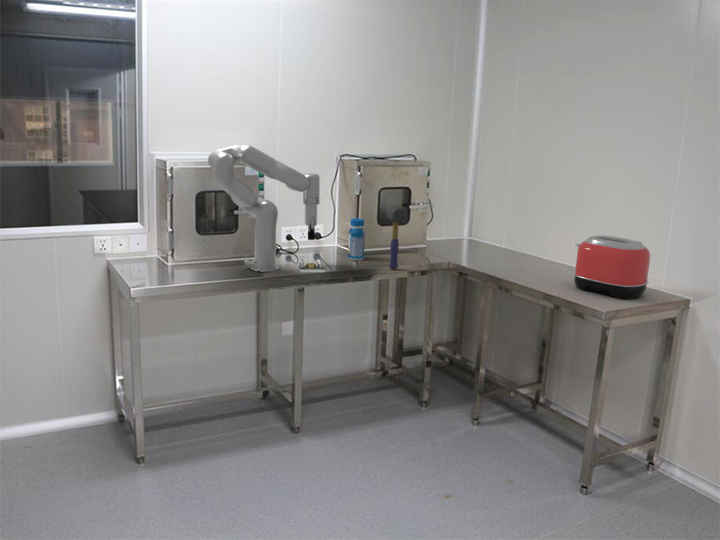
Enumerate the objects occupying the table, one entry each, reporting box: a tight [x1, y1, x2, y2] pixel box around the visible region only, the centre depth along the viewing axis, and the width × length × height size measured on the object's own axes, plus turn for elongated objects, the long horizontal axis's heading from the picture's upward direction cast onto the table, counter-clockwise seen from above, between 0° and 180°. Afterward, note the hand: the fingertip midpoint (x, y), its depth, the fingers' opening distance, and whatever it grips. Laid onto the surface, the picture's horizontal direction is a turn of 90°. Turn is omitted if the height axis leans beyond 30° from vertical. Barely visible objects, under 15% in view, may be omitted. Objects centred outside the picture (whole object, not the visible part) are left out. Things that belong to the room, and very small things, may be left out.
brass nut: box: [305, 262, 317, 269], centre depth 304 cm, size 5×4×2 cm
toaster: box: [573, 235, 651, 300], centre depth 282 cm, size 32×23×23 cm
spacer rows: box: [298, 258, 324, 270], centre depth 304 cm, size 10×8×3 cm
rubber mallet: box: [385, 204, 408, 271], centre depth 307 cm, size 12×8×30 cm, turn 13°
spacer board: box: [298, 265, 326, 273], centre depth 302 cm, size 11×13×1 cm
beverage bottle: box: [347, 218, 366, 261], centre depth 328 cm, size 8×8×20 cm
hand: (311, 239), depth 308 cm, fingers closed
